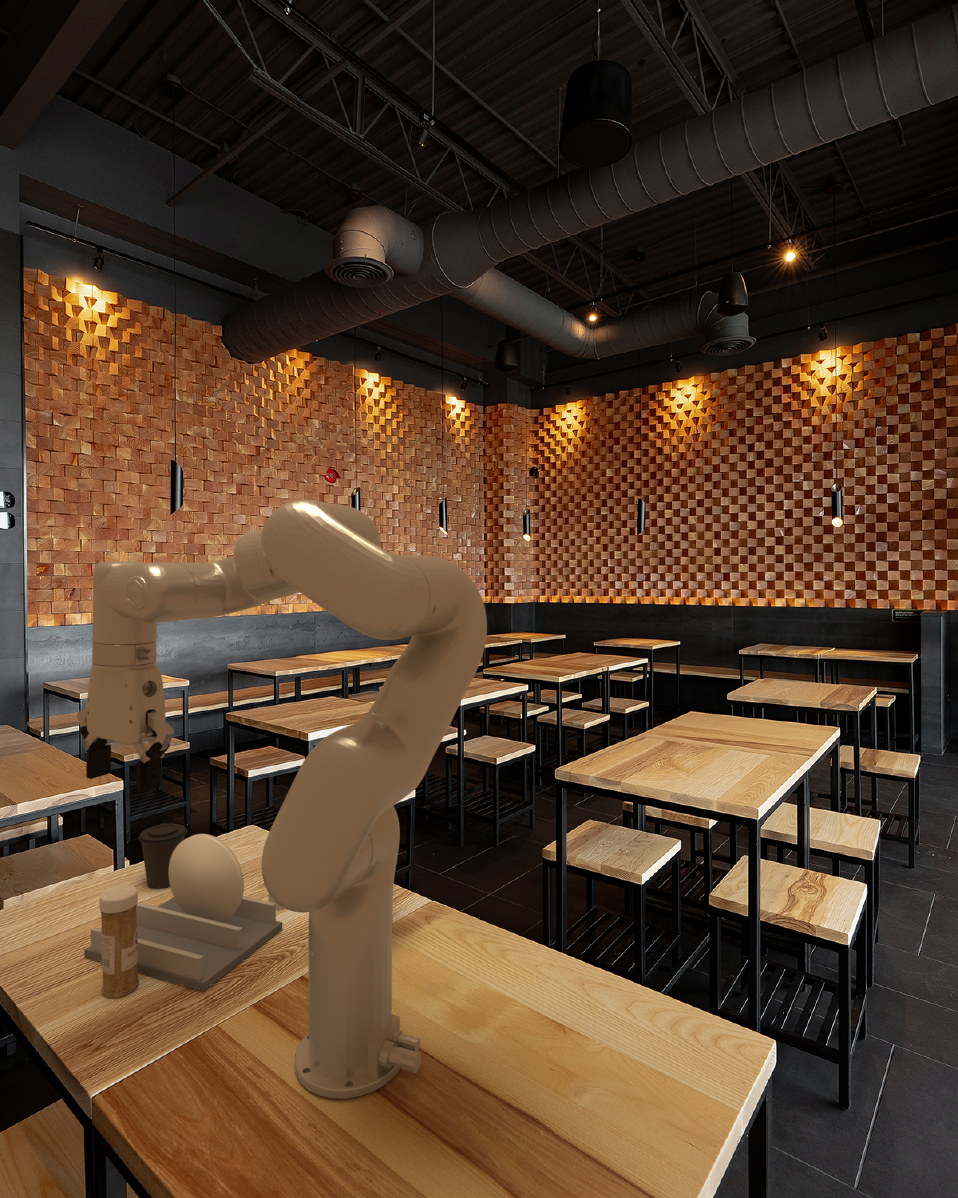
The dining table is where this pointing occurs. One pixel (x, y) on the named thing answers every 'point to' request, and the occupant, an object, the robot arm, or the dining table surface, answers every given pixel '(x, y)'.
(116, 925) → the sprinkles bottle
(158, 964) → the dish rack
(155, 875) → the dark brown tapered cylinder
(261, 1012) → the dining table surface
